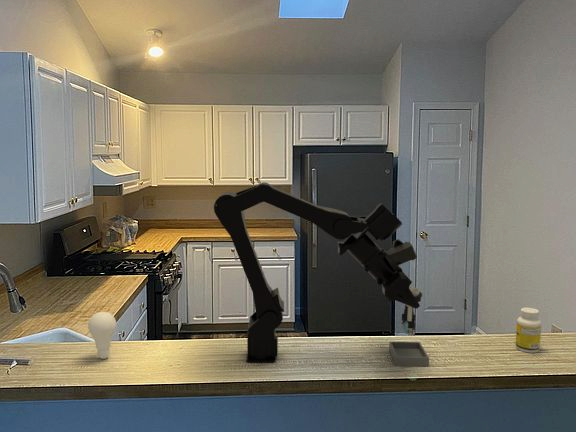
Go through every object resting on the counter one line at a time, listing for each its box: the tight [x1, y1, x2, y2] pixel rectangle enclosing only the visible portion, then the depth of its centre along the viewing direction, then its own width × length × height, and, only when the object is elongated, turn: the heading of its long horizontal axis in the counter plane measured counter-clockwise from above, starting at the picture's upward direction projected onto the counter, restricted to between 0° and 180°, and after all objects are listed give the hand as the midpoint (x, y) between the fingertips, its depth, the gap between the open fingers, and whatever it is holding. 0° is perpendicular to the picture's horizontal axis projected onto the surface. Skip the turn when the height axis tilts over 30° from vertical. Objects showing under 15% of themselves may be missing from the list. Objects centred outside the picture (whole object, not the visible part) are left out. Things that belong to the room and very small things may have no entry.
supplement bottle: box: [515, 307, 542, 354], centre depth 130 cm, size 5×5×10 cm
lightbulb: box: [87, 311, 117, 360], centre depth 123 cm, size 6×6×11 cm
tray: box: [388, 341, 430, 367], centre depth 125 cm, size 7×9×2 cm
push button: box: [400, 286, 423, 336], centre depth 123 cm, size 7×5×10 cm
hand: (415, 303), depth 124 cm, fingers closed on push button, 5 cm apart
